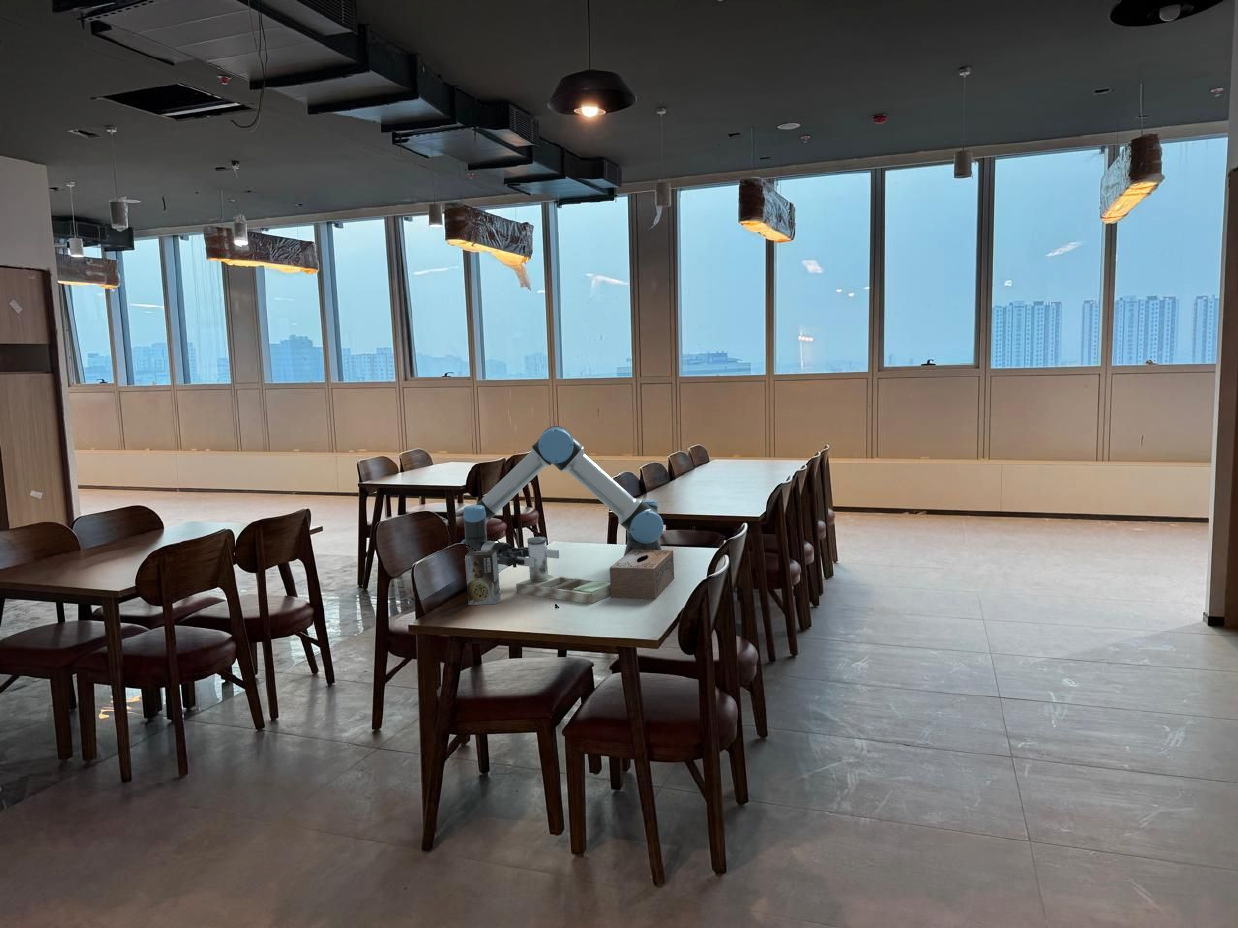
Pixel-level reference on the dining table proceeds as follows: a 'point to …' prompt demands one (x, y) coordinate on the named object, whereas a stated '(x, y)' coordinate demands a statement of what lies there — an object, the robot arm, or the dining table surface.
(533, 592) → the board
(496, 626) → the dining table surface
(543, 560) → the canister
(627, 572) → the tissue box cover
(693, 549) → the dining table surface
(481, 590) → the coffee box
